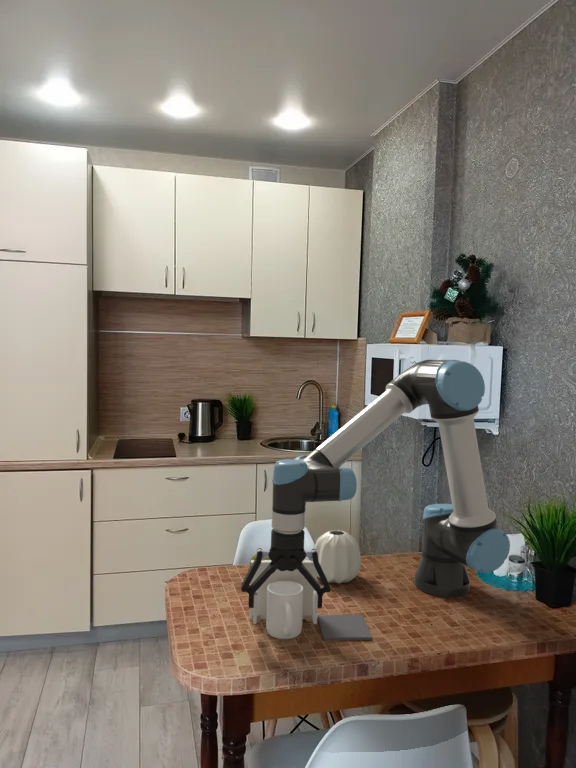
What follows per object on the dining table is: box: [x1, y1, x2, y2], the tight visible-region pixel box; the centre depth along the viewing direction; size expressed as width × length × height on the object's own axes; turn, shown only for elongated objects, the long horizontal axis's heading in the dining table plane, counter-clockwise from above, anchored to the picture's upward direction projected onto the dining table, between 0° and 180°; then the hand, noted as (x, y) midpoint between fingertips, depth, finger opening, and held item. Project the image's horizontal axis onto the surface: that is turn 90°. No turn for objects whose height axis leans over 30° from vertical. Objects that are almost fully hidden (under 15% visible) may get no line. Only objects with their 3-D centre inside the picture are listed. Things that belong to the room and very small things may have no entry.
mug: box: [265, 581, 303, 640], centre depth 129 cm, size 12×8×10 cm
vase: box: [313, 529, 362, 584], centre depth 163 cm, size 14×14×13 cm
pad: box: [317, 614, 373, 641], centre depth 133 cm, size 11×11×1 cm
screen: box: [249, 559, 318, 623], centre depth 137 cm, size 16×4×14 cm, turn 94°
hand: (284, 621), depth 129 cm, fingers open, 13 cm apart
